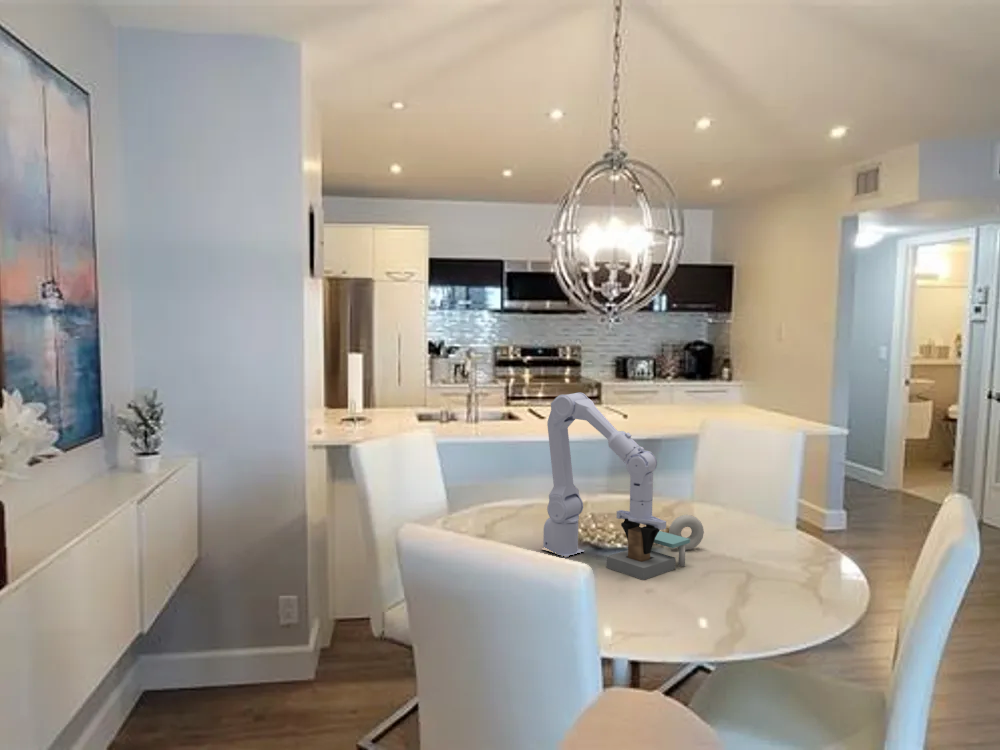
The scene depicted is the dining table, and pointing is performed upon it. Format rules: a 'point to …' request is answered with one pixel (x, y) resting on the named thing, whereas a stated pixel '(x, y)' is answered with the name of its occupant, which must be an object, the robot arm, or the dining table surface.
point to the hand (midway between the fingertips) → (640, 551)
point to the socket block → (641, 564)
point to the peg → (636, 545)
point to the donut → (693, 524)
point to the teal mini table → (673, 543)
